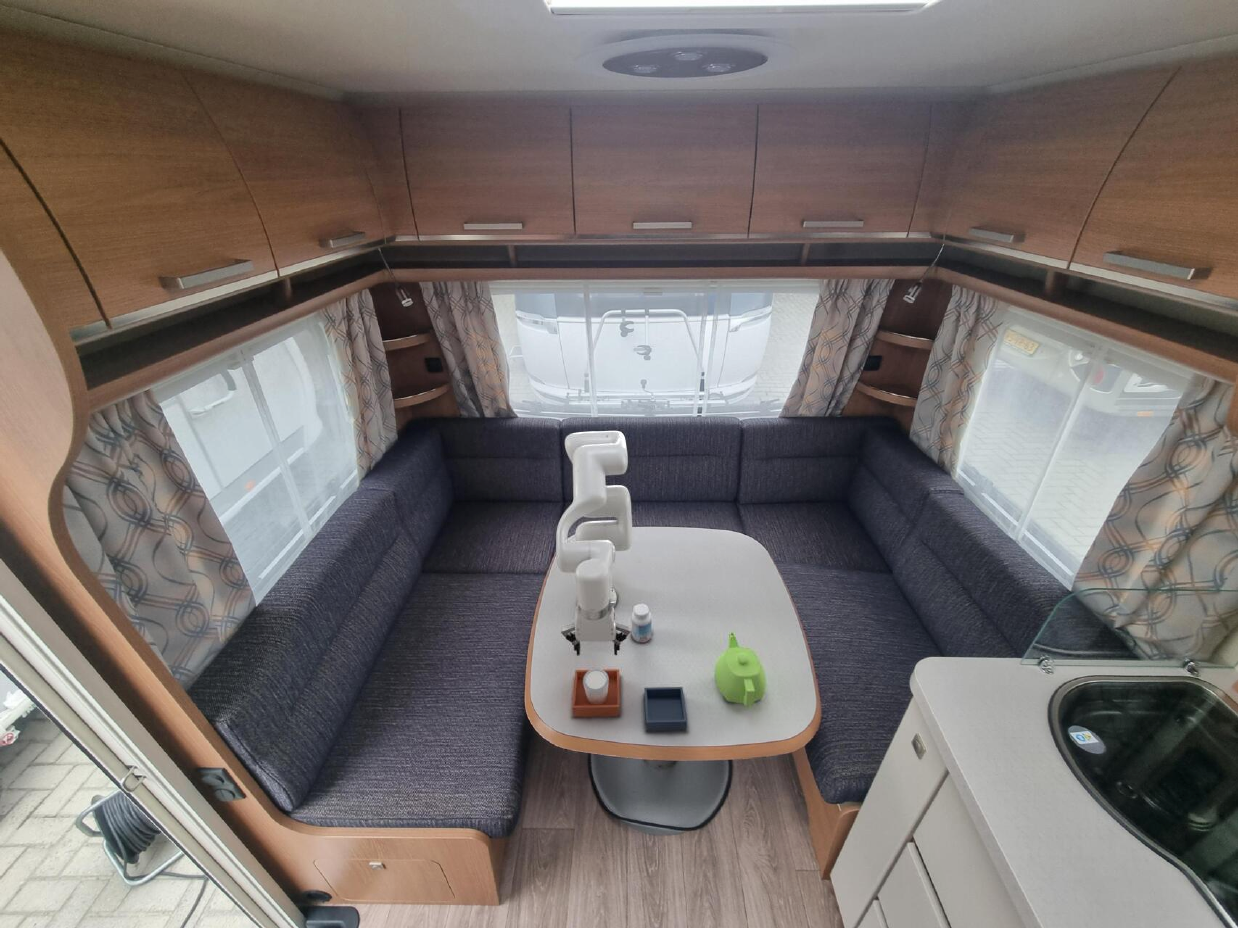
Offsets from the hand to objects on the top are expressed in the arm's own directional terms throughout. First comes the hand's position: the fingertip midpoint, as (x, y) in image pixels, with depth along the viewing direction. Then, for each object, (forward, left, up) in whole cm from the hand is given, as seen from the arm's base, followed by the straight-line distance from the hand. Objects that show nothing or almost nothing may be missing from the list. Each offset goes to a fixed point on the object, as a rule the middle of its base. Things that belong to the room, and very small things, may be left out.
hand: (597, 650), depth 126 cm
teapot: (-1, +38, -17) cm, 42 cm away
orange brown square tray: (+2, -1, -17) cm, 17 cm away
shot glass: (+2, -1, -17) cm, 17 cm away
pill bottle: (-19, +12, -17) cm, 28 cm away
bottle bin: (+7, +17, -17) cm, 25 cm away
